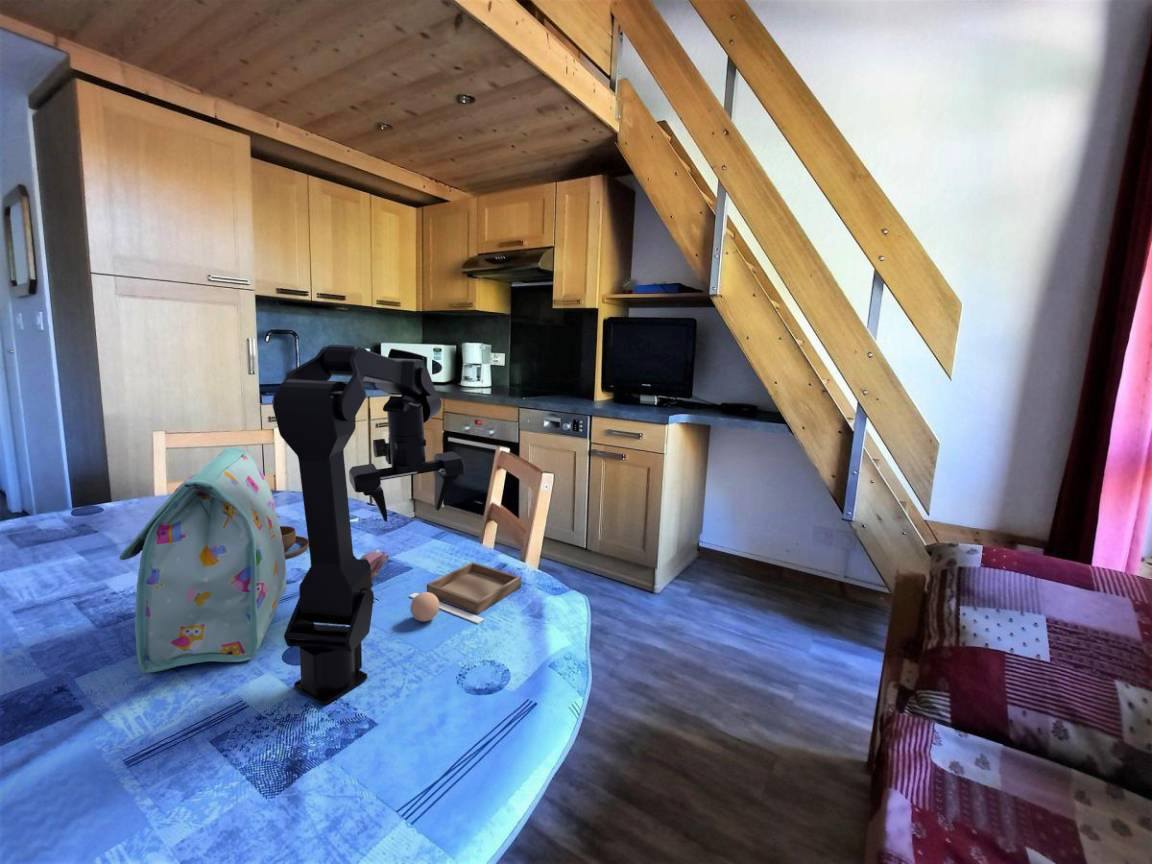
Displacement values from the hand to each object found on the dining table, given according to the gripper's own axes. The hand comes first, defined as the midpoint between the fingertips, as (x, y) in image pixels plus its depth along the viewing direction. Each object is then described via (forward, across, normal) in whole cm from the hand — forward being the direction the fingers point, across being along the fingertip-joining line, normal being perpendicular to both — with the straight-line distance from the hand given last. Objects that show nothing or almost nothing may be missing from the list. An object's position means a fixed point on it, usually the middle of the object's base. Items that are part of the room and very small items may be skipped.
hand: (412, 515), depth 91 cm
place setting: (+16, +25, -29) cm, 42 cm away
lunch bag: (+12, +30, +1) cm, 32 cm away
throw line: (+13, -2, +11) cm, 17 cm away
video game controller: (+14, +8, -5) cm, 17 cm away
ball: (+12, +2, +13) cm, 18 cm away
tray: (+14, -8, +8) cm, 18 cm away
